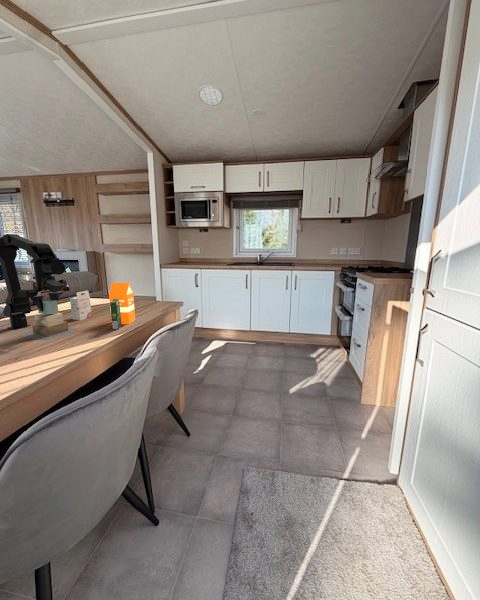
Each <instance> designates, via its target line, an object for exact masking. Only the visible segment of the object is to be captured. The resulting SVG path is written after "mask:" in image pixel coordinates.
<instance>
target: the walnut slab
mask: <svg viewBox="0 0 480 600" xmlns="http://www.w3.org/2000/svg"><path fill="white" fill-rule="evenodd" d="M31 327H32V332H33V335H40V336H48V337H49V336H53V335H56V334H59V333H62V332H65V331H68V328H69V325H68V321H64V322H63V323H59V324H56V325H52V326H49V327H48V326H39V325H36V324H32V325H31Z"/></svg>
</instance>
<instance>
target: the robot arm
mask: <svg viewBox="0 0 480 600" xmlns="http://www.w3.org/2000/svg"><path fill="white" fill-rule="evenodd" d="M19 249H21V250H23V251H25V252H26V255H28V256H29V257H30V258H32V259H31V260H30V263H31V264H33V266H32V267H33V270H34V276H32V279H33V280H35V286H34V288H22V286H21V283H20V282H21V281H20V280H19V275H18V271H17V267H16V263H15V260H16V259H17V256H18V253H17V252H18V250H19ZM0 266H1V272H2V273H3V274H2V275H3V279H4V282H5V286H6V290H7V293H8V294H7V296H6V298H5V306H4V308H3V310H2V314H3V317H6V318H9V323H10V326H9V327H7V328H6V329H8V330H20V329H24V328H27V327H32V325H31V324H28V320H27V314H30V313H31V308H32V307H31V306H32V304H31V301H32V302H33V303H34V304H35V306H36V307H37V309H38V308H39V310H40V311H41V312H43V302H42V301H43V299H44V297H45V295H42V294H44V293H48V297H49V300H57V302H58V300H59V299H60V297H61V295H63V294H64V292H70V291H71V288H70V285H69V284H68V283H67V280H66V279H64V278H63V279H59V280H56V277H55V275H57V276H60V275H62V274H65V271H66V266H65V264H64V262H62V261H61V260H60V258H59V257H57V254H56V253H55V252H54V250H53V248H52V247H51V245H49V244H48V243H46V242H34V241H33V240H29V239H27V238H25V237H23V236H20V235H19V234H17V233H16V234H15V233H14V234H13V233H6V234H3V235H2V237H1V236H0Z"/></svg>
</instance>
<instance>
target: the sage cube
mask: <svg viewBox="0 0 480 600" xmlns="http://www.w3.org/2000/svg"><path fill="white" fill-rule="evenodd" d="M42 302H43V312H41V311H40V310H39V308H38V307H37V311H38V314H39V315H42V314H50V313H59V307H58V305H59V304H58V301H57V300H50V299H46V300H42Z"/></svg>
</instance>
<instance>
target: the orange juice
mask: <svg viewBox="0 0 480 600" xmlns="http://www.w3.org/2000/svg"><path fill="white" fill-rule="evenodd" d="M108 297H109V298H108V299H109V303H110V302H111V301H112V300H113V299H119V301H120V313H121V323H122V325H129V324H132V323H133V322H134V320H135V321H136V314H135V299H134V291H133V289H132V287H131V285H130V283H129V282H112V283H111V286H110V290H109V294H108ZM109 308H110V307H109ZM109 311H110V313H111V308H110V309H109ZM111 322H112V320H111ZM131 322H132V323H131Z"/></svg>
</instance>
